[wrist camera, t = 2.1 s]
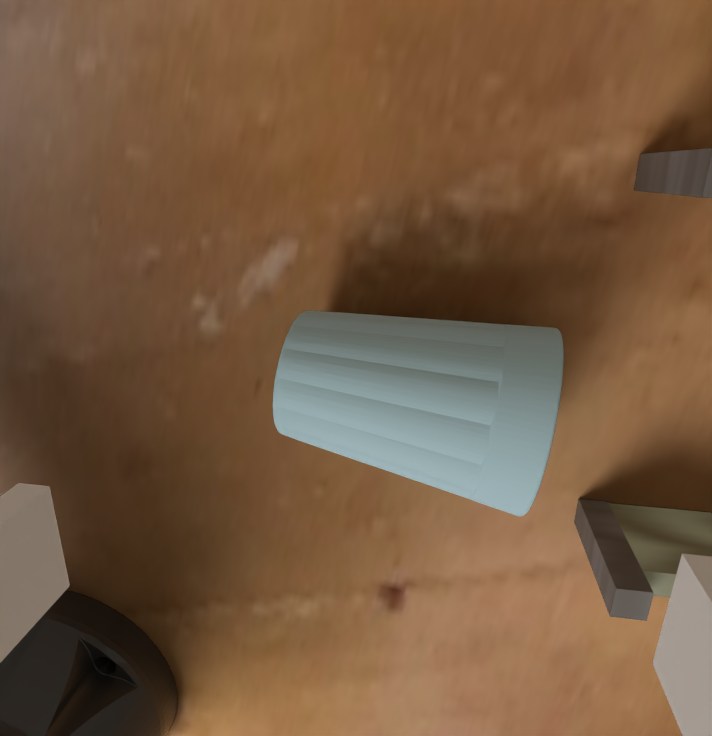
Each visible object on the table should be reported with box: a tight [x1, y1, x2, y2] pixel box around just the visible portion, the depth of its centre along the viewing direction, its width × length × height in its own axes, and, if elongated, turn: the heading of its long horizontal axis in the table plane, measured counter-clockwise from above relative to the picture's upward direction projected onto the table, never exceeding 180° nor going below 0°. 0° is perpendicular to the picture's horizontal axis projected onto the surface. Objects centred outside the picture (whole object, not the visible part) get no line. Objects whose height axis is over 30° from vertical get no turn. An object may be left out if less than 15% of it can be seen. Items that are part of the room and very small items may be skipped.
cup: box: [273, 311, 564, 516], centre depth 23 cm, size 8×8×10 cm
